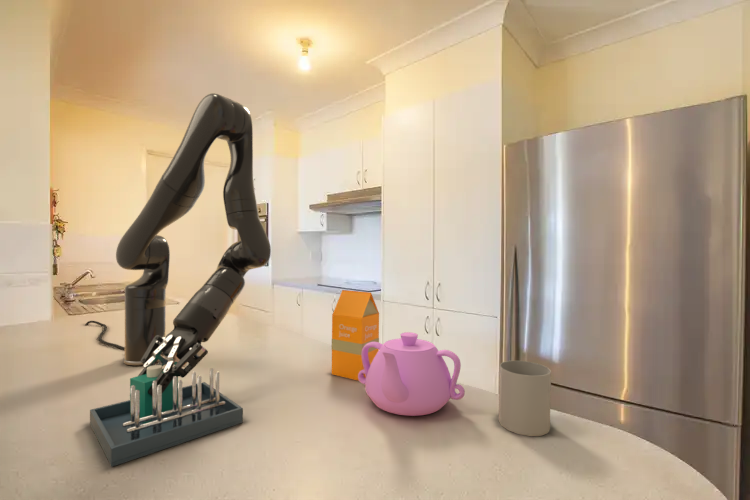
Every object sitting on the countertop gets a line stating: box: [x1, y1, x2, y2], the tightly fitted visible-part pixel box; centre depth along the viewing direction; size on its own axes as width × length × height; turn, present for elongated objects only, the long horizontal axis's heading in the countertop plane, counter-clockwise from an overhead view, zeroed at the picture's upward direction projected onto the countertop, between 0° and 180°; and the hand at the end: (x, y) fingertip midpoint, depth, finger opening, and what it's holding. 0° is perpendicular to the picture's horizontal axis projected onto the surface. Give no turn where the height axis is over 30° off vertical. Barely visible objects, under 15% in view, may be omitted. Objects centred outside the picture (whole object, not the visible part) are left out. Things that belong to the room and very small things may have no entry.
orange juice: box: [331, 289, 380, 382], centre depth 93 cm, size 8×9×20 cm
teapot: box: [357, 331, 466, 417], centre depth 73 cm, size 22×22×14 cm
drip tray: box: [89, 381, 244, 468], centre depth 66 cm, size 17×19×3 cm
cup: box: [498, 360, 552, 437], centre depth 67 cm, size 8×8×10 cm
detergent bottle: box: [129, 364, 179, 424], centre depth 68 cm, size 4×6×8 cm
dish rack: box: [123, 367, 225, 441], centre depth 62 cm, size 3×15×9 cm, turn 135°
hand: (143, 392), depth 66 cm, fingers closed on detergent bottle, 4 cm apart
